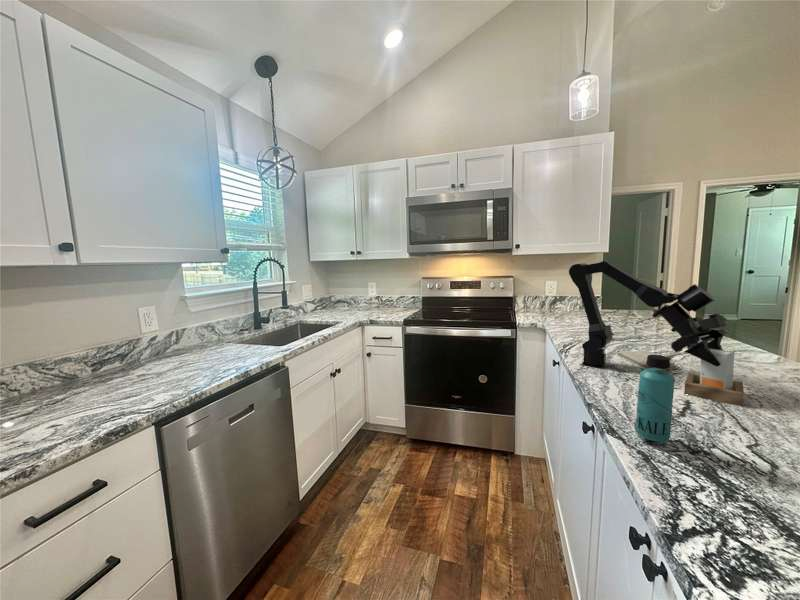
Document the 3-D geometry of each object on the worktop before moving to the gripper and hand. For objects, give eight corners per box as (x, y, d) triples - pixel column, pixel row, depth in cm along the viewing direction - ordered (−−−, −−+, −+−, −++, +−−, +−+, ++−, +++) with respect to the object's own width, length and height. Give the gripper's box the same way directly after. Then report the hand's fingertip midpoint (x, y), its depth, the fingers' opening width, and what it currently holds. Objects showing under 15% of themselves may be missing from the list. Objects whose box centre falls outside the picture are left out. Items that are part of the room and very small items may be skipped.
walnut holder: (684, 394, 96) (685, 383, 96) (687, 382, 105) (688, 372, 104) (742, 406, 88) (744, 394, 87) (741, 392, 96) (742, 381, 96)
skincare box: (699, 388, 97) (700, 349, 96) (706, 386, 99) (708, 347, 98) (725, 395, 92) (727, 354, 91) (733, 392, 94) (735, 351, 92)
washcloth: (645, 371, 116) (646, 363, 116) (615, 356, 134) (615, 349, 134) (680, 371, 116) (681, 362, 115) (644, 355, 134) (645, 348, 133)
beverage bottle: (653, 432, 77) (660, 351, 74) (678, 448, 71) (686, 360, 68) (627, 433, 77) (632, 352, 74) (649, 450, 70) (656, 361, 68)
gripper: (686, 308, 93) (734, 355, 84) (721, 302, 100) (769, 345, 91) (654, 329, 101) (694, 374, 92) (688, 323, 108) (729, 364, 99)
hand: (723, 364), depth 93 cm, fingers closed on skincare box, 4 cm apart
